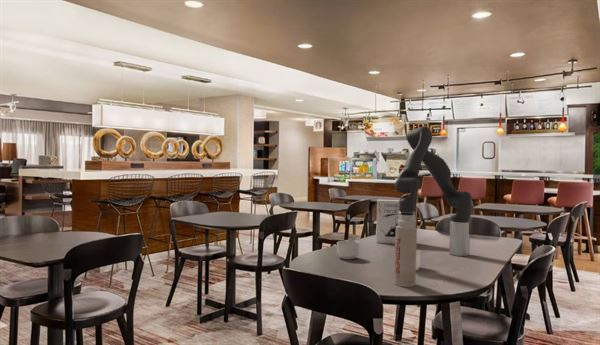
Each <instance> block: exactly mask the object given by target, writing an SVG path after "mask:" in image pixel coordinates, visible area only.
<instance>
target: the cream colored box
mask: <svg viewBox="0 0 600 345" xmlns="http://www.w3.org/2000/svg"><path fill="white" fill-rule="evenodd" d="M420 267H421V249H416V271H418V270H419V269H420Z"/></svg>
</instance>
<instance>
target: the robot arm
mask: <svg viewBox="0 0 600 345" xmlns="http://www.w3.org/2000/svg"><path fill="white" fill-rule="evenodd" d="M406 141H407V143H408V145H409V146H410V148H411V149H412V150H413V151H412V152H411V153H410V154H409V156H407V158H406V161H405V162H404V167H403V170H402V172H401V173H400V174H399V175H398V177H397V179H396V181H395V183H394V188H395V190H396V191H397V193H400V194H401V193H402V194H409V196H408V197H404V198H400V199H398V200H399V215H398V220H400V216H401V214H400V213H401V212H411V213H413V220H414V221H415V222H416V200H417V196H418V192H419V189H420V185H421V184H420V181H419V179H418V176H419V173H420V170H421V167H422V163H423V164H424V166H425V167H426V169H427V170H428V172H429V174H430V175H431V176H432V179H433V180H434V181H435V182H436V184H437V186H438V187H439V188H440V190H441V192H442V194H443V195H444V198H445V200H446V202H447V203H448V205H449V206H450V207H451V208H455V209H456V212H455V214H452V215H450V218H449V219H450V220H449V248H448V250H449V251H448V252H449V255H452V256H456V257H457V256H458V257H466V256H469V255H470V252H471V251H470V250H471V249H470V248H471V246H470V245H471V237H470V236H469V233H470V232H469V231H470V230H469V229H470V227H469V226H470V218H471V215H472V205H473V201H472V198H473V197H472V194H471V193H470V192H468V191H465V190H457V189H456V188H455V186H454V184H453V183H452V180H451V179H452V172H451V171H452V170H451V169H450V167H449V166H448V163H447V162H446V161H445V160H444V158H442V157H441V156H439V155H437V154H435V153H433V152H432V151H430V150H428V149H429V147H430V145H431V143H432V141H433V132H432V130H431V128H429V127H428V126H426V125H423V126H420V127H417V128H414V129H411V130H409V131H407V133H406Z"/></svg>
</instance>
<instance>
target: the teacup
mask: <svg viewBox="0 0 600 345" xmlns="http://www.w3.org/2000/svg"><path fill="white" fill-rule="evenodd" d="M359 243H360V242H359V241H357V240H349V239H345V240H340V241H337V242H336V251H337V255H338V256H339V257H340V258H341V259H343V260H353V259H355V258H356V257H358V255H359V253H360V250H359V248H360V244H359Z"/></svg>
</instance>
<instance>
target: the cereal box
mask: <svg viewBox="0 0 600 345" xmlns="http://www.w3.org/2000/svg"><path fill="white" fill-rule="evenodd" d="M399 200H400V199H376V234H375V235H376V236H375V243H376V242H378V243H377V244H390V243H392V245H395V239H396V226H398V223H397V222H398V215H399Z"/></svg>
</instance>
